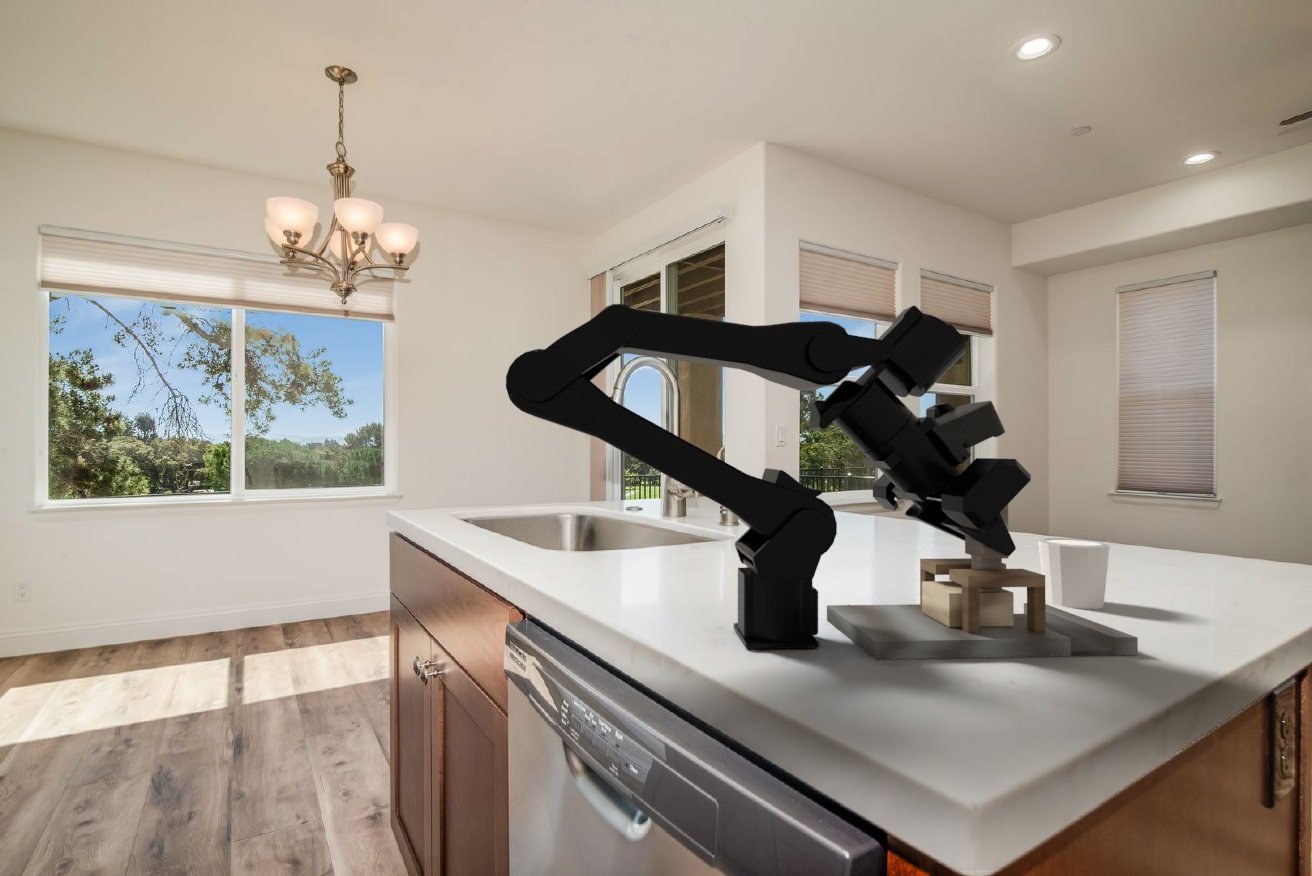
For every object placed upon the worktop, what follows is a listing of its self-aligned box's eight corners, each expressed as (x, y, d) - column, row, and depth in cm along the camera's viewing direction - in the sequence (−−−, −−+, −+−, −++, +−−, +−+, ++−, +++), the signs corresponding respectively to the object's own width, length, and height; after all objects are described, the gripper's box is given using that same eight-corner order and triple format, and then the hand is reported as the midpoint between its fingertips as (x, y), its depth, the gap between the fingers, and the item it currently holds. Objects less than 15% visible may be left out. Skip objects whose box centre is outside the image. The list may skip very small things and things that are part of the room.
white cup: (1027, 600, 73) (1027, 540, 73) (1054, 593, 77) (1053, 536, 77) (1095, 613, 67) (1094, 548, 67) (1120, 604, 71) (1119, 543, 71)
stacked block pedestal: (949, 626, 56) (948, 493, 56) (921, 612, 61) (921, 490, 61) (1015, 626, 57) (1014, 493, 57) (983, 611, 62) (982, 490, 62)
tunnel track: (875, 659, 52) (875, 581, 52) (826, 620, 64) (826, 556, 64) (1137, 655, 54) (1137, 578, 54) (1042, 617, 66) (1041, 555, 66)
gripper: (1006, 357, 50) (1139, 496, 50) (900, 382, 68) (998, 483, 69) (910, 455, 49) (1046, 596, 50) (829, 454, 68) (928, 556, 68)
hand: (1000, 549), depth 59 cm, fingers closed on stacked block pedestal, 3 cm apart
